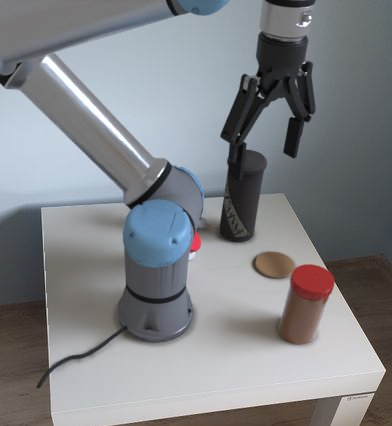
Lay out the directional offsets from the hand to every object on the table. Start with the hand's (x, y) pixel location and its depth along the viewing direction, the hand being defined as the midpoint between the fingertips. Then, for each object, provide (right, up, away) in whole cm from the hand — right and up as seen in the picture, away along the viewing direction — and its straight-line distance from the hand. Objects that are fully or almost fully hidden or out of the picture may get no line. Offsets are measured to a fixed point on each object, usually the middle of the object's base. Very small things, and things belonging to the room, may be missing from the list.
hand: (263, 166), depth 94 cm
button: (-12, 0, +36) cm, 38 cm away
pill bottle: (-21, -13, +23) cm, 33 cm away
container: (-2, -4, +34) cm, 35 cm away
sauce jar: (+9, -29, +13) cm, 33 cm away
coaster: (+6, -14, +27) cm, 31 cm away
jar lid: (+10, -20, +3) cm, 22 cm away
